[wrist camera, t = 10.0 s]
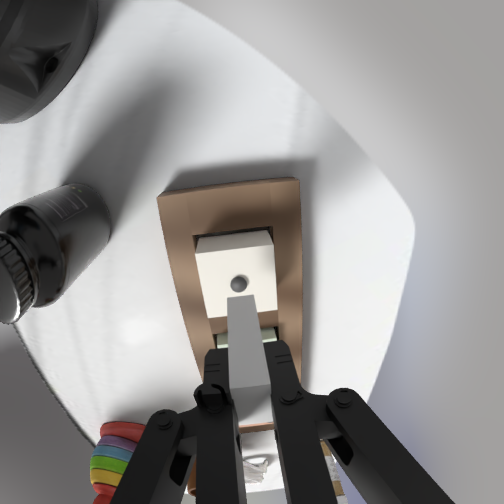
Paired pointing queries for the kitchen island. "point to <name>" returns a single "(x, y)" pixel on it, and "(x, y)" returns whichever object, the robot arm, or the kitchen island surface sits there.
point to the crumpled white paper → (254, 472)
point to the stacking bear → (112, 457)
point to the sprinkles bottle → (334, 475)
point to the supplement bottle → (48, 246)
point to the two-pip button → (266, 334)
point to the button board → (226, 219)
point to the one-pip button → (237, 270)
